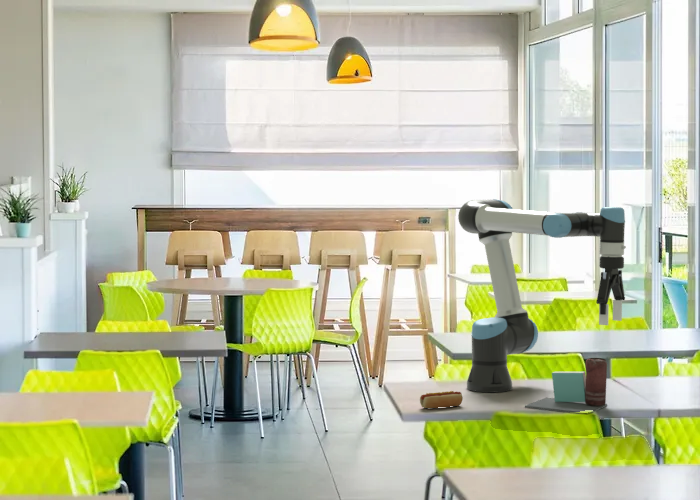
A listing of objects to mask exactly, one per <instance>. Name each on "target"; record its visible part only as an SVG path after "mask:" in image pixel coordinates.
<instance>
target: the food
mask: <svg viewBox="0 0 700 500" xmlns="http://www.w3.org/2000/svg"><path fill="white" fill-rule="evenodd" d="M463 397H464V396H463V395H462V392H461V391H454V390H451V391H438V392H429V393H427V392H426V393H425V394H421V395H420V397H419V403H420V407H422V408H423V407H424V408H438V407H450V406H457V407H460V406H461V405H462V403H463V399H464V398H463ZM424 408H423V409H424Z"/></svg>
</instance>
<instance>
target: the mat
mask: <svg viewBox="0 0 700 500" xmlns="http://www.w3.org/2000/svg"><path fill="white" fill-rule="evenodd" d="M604 406H605V407H607V406H608V403H606V404H605V405H604ZM604 406H600V407H595V406H589V405H587V404H586V403H585V402H555V399H554V397H544V398H541V399H538V400H536V401H533V402H531V403H528V404H525V405H524V408H525V409H526V408H527V409H534V410H542V411H543V410H545V411H554V412H563V413H570V412H580V411H585V410H593V411H594V412H596V411H598V410H600V409H602V407H603V408H604Z"/></svg>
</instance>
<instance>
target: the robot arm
mask: <svg viewBox="0 0 700 500" xmlns="http://www.w3.org/2000/svg"><path fill="white" fill-rule="evenodd" d="M625 216H626V215H625V209H624V208H623V207H621V206H619V207H618V206H616V207H614V206H613V207H611V206H610V207H609V206H606V207H605V206H603V207H601V208H600V211H599V212H597V213H596V212H582V211H581V212H579V211H578V212H569V213H568V212H551V211H548V212H547V211H537V210H522V209H513V207H512V206H511V205H510V203H508V202H506V201H505V200H501V199H494V198H493V199H472V200H469V201H467V202H465V203H464V204H463V205H462V206H461V207H460V208H459V211H458V216H457V217H458V218H457V220H458V222H459V225H460V227H461V228H462V229H463V230H464V231H466V232H467V233H469V234H470V233H471V234H477V236H478V241H479V242H480V243H482V245H483V246H484V250H485V254H486V258H487V259H486V260H487V264H488V269H489V275H490V281H491V286H492V291H493V295H494V300H495V301H494V302H495V306H496V311H497V312H496V314H495V316H494V317H488V318H487V317H485V318H480V319H477V320H475V321H474V322H473V323H472V327H471V334H470V335H471V368H470V370H469V375H468V378H467V380H466V389H467V390H468V391H469V390H470V391H474V392H477V393H478V392H479V393H500V392H501V393H502V392H508V391H511V390H513V381H512V378H511V375H510V372H509V368H508V359H507V358H508V356H510V355H516V354H517V355H518V354H522V353H525V352H528V351H530V350H532V349H533V348H534V347H535V345H536V344H537V341H538V338H539V331H538V326H537V324H536V322H534V321H533V320H532V319H531V318H529V313H528V311H527V310H525V308H523V306H522V305H523V304H522V300H521V295H520V291H519V285H518V280H517V275H516V269H515V265H514V260H513V255H512V254H513V253H512V249H511V244H510V239H511V238H512V236H513V233H514V234H515V233H517V234H527V235H535V236H537V235H538V236H548V237H550V238H557V239H558V238H559V239H560V238H567V237H568V238H569V237H570V238H572V237H573V238H574V237H597V238H598V237H599V255H600V257H599V268H601V269H604V271H602V272H601V271H600V281H599V285H598V292H597V298H596V301H595V303H596V304H597V305H598V311H599V312H598V325H600V326H609V311H610V310H609V309H610V308H609V307H610V306H609V304H608V302H609V299H610V295H611V292H612V295H613V299H612V321H620V322H622V319H623V301H625V300H626V296H625V290H624V289H625V287H624V281H623V274H622V273H623V271H622V269H624V267H625V257H624V254H625V249H627V248H626V245H625V226H626V225H625V224H626V217H625Z"/></svg>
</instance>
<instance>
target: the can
mask: <svg viewBox="0 0 700 500" xmlns="http://www.w3.org/2000/svg"><path fill="white" fill-rule="evenodd" d="M584 367H585V375H586V390H585V403H586V404H587V405H589V406H595V407H600V406H604V405H605V404H607V403H606V402H607V400H606V399H607V372H608V361H607V359H605V358H600V357H590V358H587V359H586V361H585V365H584Z"/></svg>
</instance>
